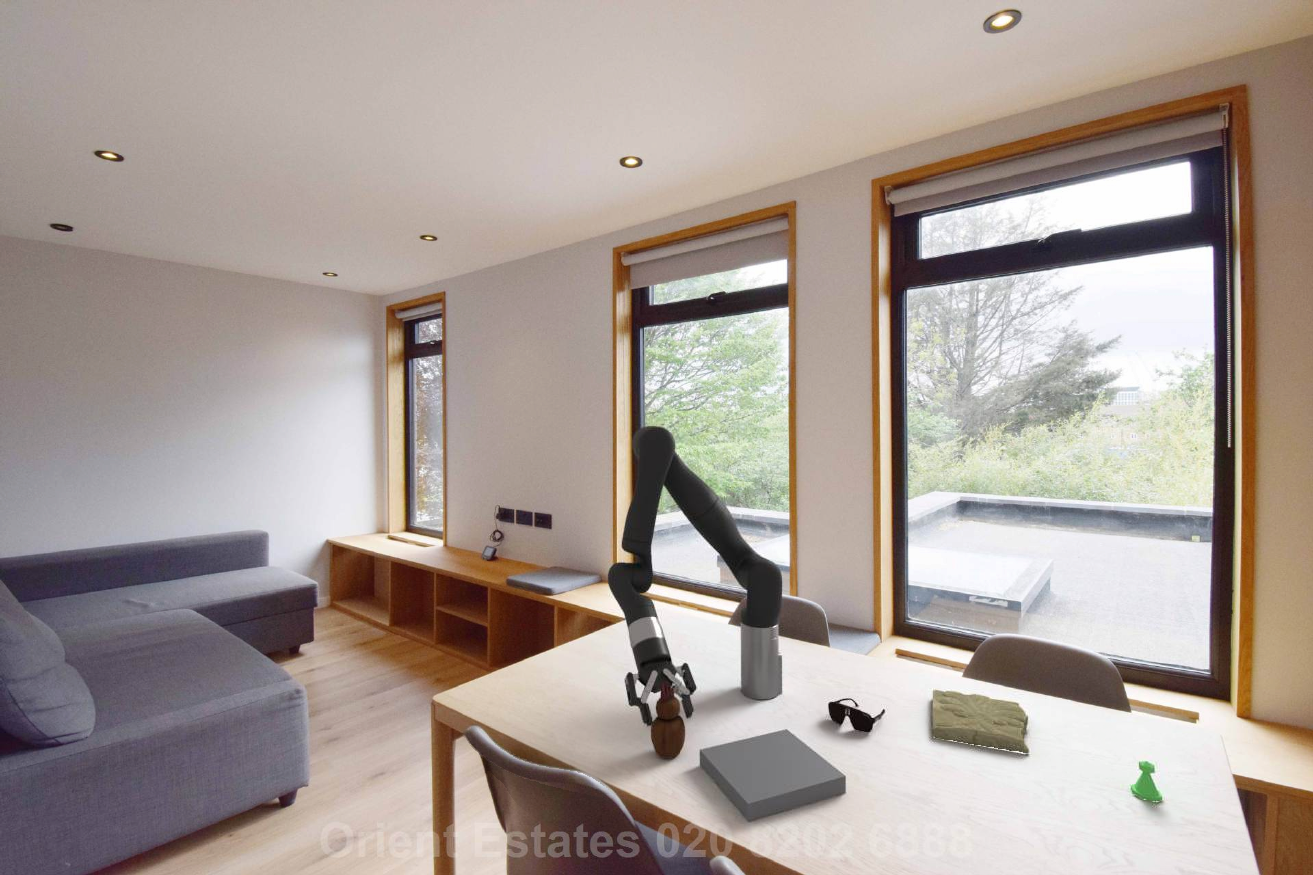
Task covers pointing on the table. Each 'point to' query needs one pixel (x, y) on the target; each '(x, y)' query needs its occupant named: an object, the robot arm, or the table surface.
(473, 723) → the table surface
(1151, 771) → the game piece
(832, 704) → the sunglasses
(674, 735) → the wooden figurine
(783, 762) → the block
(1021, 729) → the decorative tile
